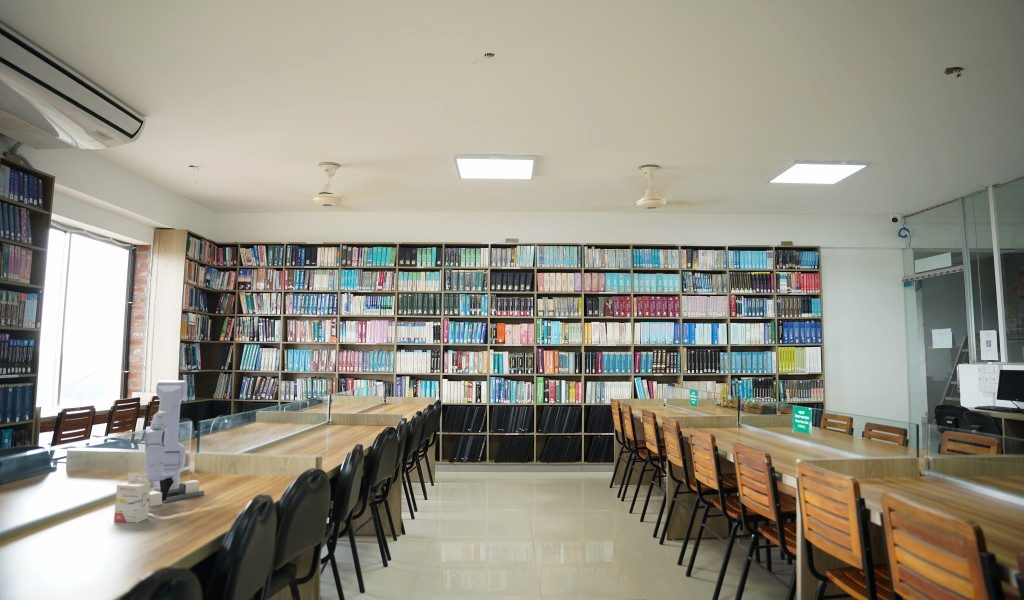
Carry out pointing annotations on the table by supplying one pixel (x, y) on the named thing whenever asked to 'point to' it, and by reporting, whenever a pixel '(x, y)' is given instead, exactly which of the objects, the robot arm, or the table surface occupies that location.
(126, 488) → the ink cartridge box
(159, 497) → the white cardboard box
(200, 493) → the sliding window
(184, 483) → the white and grey block
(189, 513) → the table surface
